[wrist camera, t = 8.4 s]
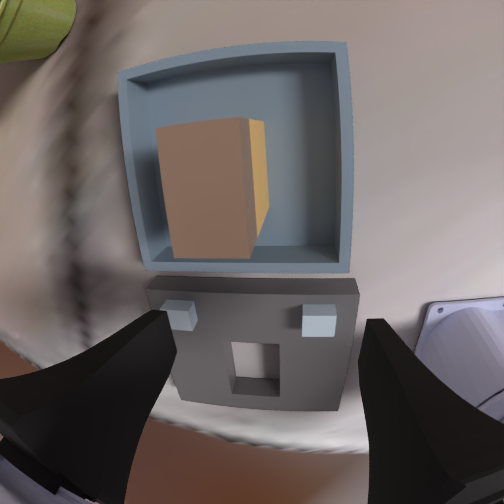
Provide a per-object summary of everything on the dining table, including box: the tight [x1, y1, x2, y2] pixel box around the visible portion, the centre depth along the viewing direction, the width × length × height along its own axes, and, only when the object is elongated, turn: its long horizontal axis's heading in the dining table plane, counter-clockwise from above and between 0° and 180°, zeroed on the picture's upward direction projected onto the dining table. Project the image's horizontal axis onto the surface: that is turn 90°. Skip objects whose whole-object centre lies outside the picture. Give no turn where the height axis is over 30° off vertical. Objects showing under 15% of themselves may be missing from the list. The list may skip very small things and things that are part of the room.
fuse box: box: [146, 276, 360, 411], centre depth 21 cm, size 14×12×3 cm
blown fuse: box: [156, 117, 269, 259], centre depth 13 cm, size 3×5×7 cm, turn 4°
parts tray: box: [117, 41, 354, 273], centre depth 15 cm, size 12×12×3 cm
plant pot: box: [0, 0, 76, 64], centre depth 10 cm, size 9×9×9 cm
